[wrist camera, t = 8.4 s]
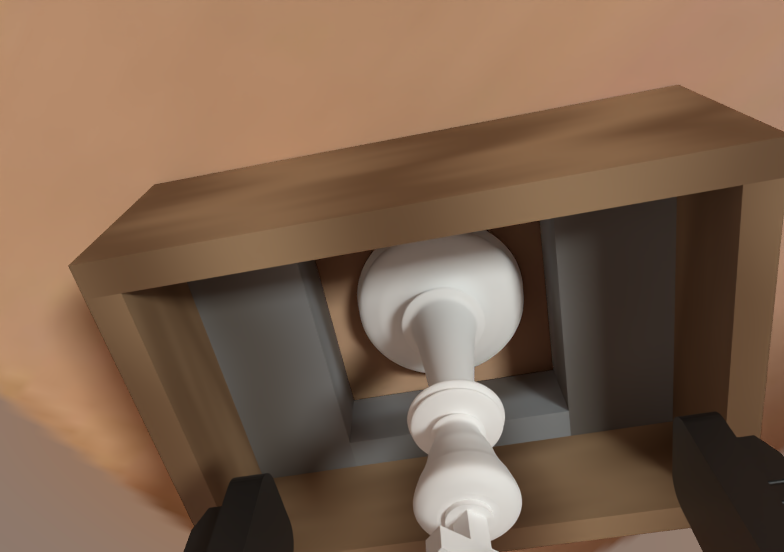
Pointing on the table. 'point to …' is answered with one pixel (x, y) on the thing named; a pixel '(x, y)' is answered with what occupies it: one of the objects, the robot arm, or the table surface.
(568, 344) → the walnut box
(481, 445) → the chess piece
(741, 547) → the robot arm
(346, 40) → the table surface
